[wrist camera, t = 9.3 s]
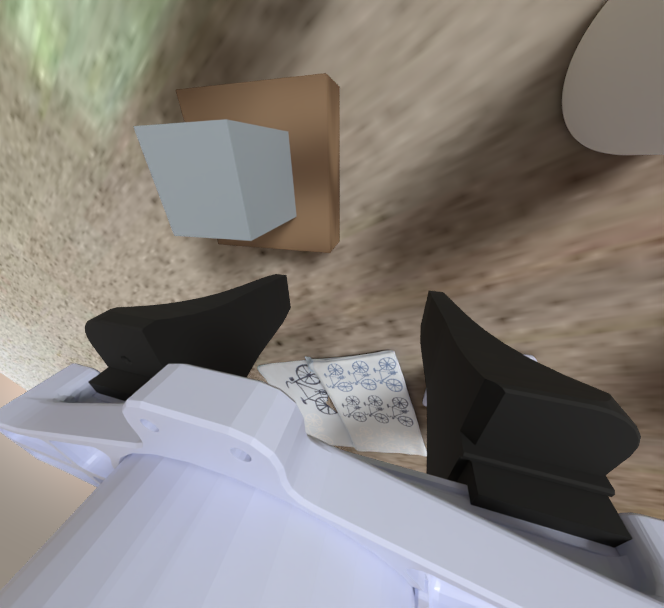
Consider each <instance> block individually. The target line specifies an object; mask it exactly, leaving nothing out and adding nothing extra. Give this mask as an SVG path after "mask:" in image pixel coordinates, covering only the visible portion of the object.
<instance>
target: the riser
mask: <svg viewBox="0 0 664 608" xmlns="http://www.w3.org/2000/svg"><path fill="white" fill-rule="evenodd" d="M176 93H177V97H178V100H179V104H180V107H181V111H182V115H183V118H184V122H198V121H211V120H224V119H227V120H232V121H237V122H242V123H247V124H252V125H257V126H262V127H267V128H272V129H277V130H282V131H287V132H288V134H289V144H290V154H291V165H292V175H293V185H294V195H295V206H296V216H297V217H295V218H293V219H291V220H289V221H287V222H285V223H284V224H282V225H280V226H278V227H276V228H274V229H272V230H271V231H269V232H267V233H265V234H263V235H261V236H259V237H258V238H256V239H254V240H252V241H247V240H232V239H217V240H218V244H224V245H236V246H249V247H261V248H274V249H286V250H299V251H312V252H324V253H330V252H331V251H332V250H333V249H334V247H335V246H336V245H337V244H338V243H339V241H340V184H339V86H338V85H337V84H336V83H335V82H334V81H333V80H332V79H331V78H330V77H329V76H328V75H327V74H326V73H324V74H314V75H305V76H296V77H287V78H278V79H269V80H259V81H250V82H241V83H232V84H223V85H214V86H205V87H195V88H186V89H177V90H176Z"/></svg>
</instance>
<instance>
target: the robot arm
mask: <svg viewBox="0 0 664 608" xmlns="http://www.w3.org/2000/svg"><path fill="white" fill-rule="evenodd" d="M290 308H291V306H290V299H289V291H288V284H287V276H286V275H279V274H275V275H270V276H267V277H264V278H261V279H259V280H256V281H253V282H250V283H248V284H245V285H242V286H239V287H236V288H234V289H231V290H228V291H225V292H221V293H218V294H214V295H210V296H206V297H202V298H197V299H192V300H187V301H182V302H175V303H168V304H160V305H150V306H135V307H117V308H113V309H110V310H108V311H106V312H104V313H102V314H100V315H98V316H96V317H94V318H93V319H91V320H89V321H87V323H86V325H85V333H86V335H87V338H88V339H89V341H90V343H91V344H92V346H93V347H94V348H95V350H96V351H97V352H98V354H99V355H100V356H101V358H102V359H103V360H104V362H105V363H106V364H107V366H108V368H107V369H106V370H104V371H103V372H101V373H100V372H99V371H98V370H96V369H94V368H91V367H87V366H83V365H80V364H71V365H69V366H67V367H66V368H64V369H63V370H61V371H59V372H58V373H56V374H55V375H53V376H51V377H50V378H48V379H46V380H45V381H43V382H42V383H40V384H38V385H37V386H35V387H33V388H32V389H30V390H29V391H27V392H25V393H24V394H22V395H20V396H19V397H17V398H16V399H14V400H13V401H11V402H9V403H8V404H6V405H4V406H3V407H1V408H0V432H1V433H2V434H3V435H5V436H6V437H8V438H9V439H10V440H12V441H13V442H14V443H16V444H17V445H19V446H20V447H21V448H23V449H24V450H25V451H27V452H28V453H29V454H31V455H32V456H34V457H35V458H37V459H38V460H40V461H43V462H45V463H47V464H49V465H52V466H54V467H56V468H58V469H61V470H63V471H65V472H67V473H69V474H71V475H73V476H75V477H77V478H79V479H81V480H83V481H85V482H87V483H89V484H91V485H93V486H96V487H97V488H96V489H95V490H94V492H93V493H92V494H91V495H90V496H89V497H88V498H87V499H86V500H85V501H84V502H83V503H82V504H81V505H80V506H79V507H78V509H77V510H76V511H75V512H74V513H73V514H72V515H71V516H70V517H69V518H68V519H67V520H66V521H65V522H64V523H63V524H62V526H61V527H60V528H59V529H58V530H57V531H56V532H55V533H54V534H53V535H52V536H51V537H50V538H49V539H48V540H47V541H46V543H45V544H44V545H43V546H42V547H41V548H40V549H39V550H38V551H37V552H36V553H35V554H34V555H33V556H32V557H31V559H30V560H29V561H28V562H27V563H26V564H25V565H24V566H23V567H22V568H21V569H20V570H19V571H18V572H17V573H16V574H15V576H14V577H13V578H12V579H11V580H10V581H9V582H8V583H7V584H6V585H5V586H4V587H3V588H2V589H1V591H0V608H664V520H661V519H657V518H654V517H650V516H646V515H642V514H637V513H619V514H618V513H617V511H616V509H615V508H614V506H613V504H612V502H611V501H610V499H609V497H608V496H610V497H612V496H614V495H615V490H614V488H613V487H612V485H611V484H610V482H609V480H608V479H607V477H606V474H608V473H609V472H610V471H612V470H613V469H614V468H616V467H617V466H618V465H620V464H621V463H622V462H623V461H625V460H626V459H627V458H629V457H630V456H631V455H632V454H633V452H634V451H635V450H636V449H637V448H638V446H639V443H640V438H641V435H640V433H639V430H638V428H637V426H636V425H635V424H634V422H633V421H632V420H631V419H630V418H629V416H628V415H627V414H626V413H625V412H624V410H623V409H622V408H621V407H620V406H619V404H618V403H617V402H616V401H615V400H614V399H613V397H612V396H611V395H610V394H609V393H606V392H604V391H602V390H599V389H597V388H594V387H592V386H589V385H587V384H585V383H582V382H580V381H577V380H575V379H573V378H570V377H568V376H565V375H563V374H561V373H559V372H557V371H555V370H553V369H550V368H548V367H546V366H544V365H542V364H540V363H538V362H537V360H536V359H535V357H533V356H530V355H524V354H521V353H520V352H518V351H516V350H514V349H513V348H511V347H509V346H508V345H506V344H504V343H503V342H501V341H500V340H498V339H497V338H495V337H494V336H493V335H491V334H490V333H488V332H487V331H485V330H484V329H483V328H482V327H480V326H479V325H478V324H477V323H475V322H474V321H473V320H472V319H471V318H470V317H468V316H467V315H466V314H465V313H464V312H463V311H462V310H461V309H460V308H459V307H458V306H457V305H456V304H455V303H454V302H453V301H452V300H451V299H450V298H449V297H448V296H447V295H446V294H445V293H443V292H436V291H429V292H428V296H427V301H426V305H425V309H424V314H423V318H422V322H421V335H420V344H421V352H422V359H423V366H424V374H425V381H426V390H425V394H424V397H423V400H422V401H423V405H424V406H426V407H427V474H426V473H422V472H418V471H415V470H411V469H408V468H404V467H401V466H397V465H394V464H390V463H387V462H383V461H380V460H376V459H372V458H369V457H365V456H362V455H358V454H355V453H351V452H348V451H344V450H341V449H339V448H336V447H334V446H332V445H330V444H328V443H326V442H324V441H322V440H320V439H318V438H316V437H313V436H311V435H309V434H307V433H306V431H305V423H304V417H303V415H302V413H301V411H300V409H299V407H298V406H297V404H296V402H295V400H294V399H292V398H291V397H290V396H289V395H288V394H286V393H285V392H284V391H283V390H282V389H280V388H278V387H275V386H273V385H270V384H268V383H265V382H263V381H259V380H255V379H250V378H247V376H248V374H249V372H250V370H251V369H252V367H253V365H254V363H255V362H256V360H257V358H258V357H259V355H260V354H261V352H262V351H263V349H264V348H265V346H266V345H267V344H268V342H269V341H270V340H271V338H272V337H273V336H274V334H275V333H276V332H277V330H278V329H279V327H280V326H281V325H282V323H283V322H284V320H285V318H286V316H287V314H288V312H289V310H290Z"/></svg>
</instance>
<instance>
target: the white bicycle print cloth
mask: <svg viewBox="0 0 664 608" xmlns="http://www.w3.org/2000/svg"><path fill="white" fill-rule="evenodd" d="M305 359H306V360H300V361H291V362H280V363H270V364H264V365H260V366H258V367H257V368H258V371H259V372H260V373H261V374H262V375H263V377H264V378H265V379H266V381H267V382H268V384H270V385H273V386H275V387H278V388H280V389H282V390H283V391H284V392H285V393H286V394H288V395H289V396H290V397H291V398H292V399H294V400H295V402H296V404H297V406H298V407H299V409H300V411H301V413H302V415H303V417H304V423H305V431H306V433H307V434H309V435H311V436H313V437H316V438H318V439H320V440H322V441H324V442H326V443H328V444H330V445H335V446H346V447H354V448H355V449H356V450H357V451H363V452H365V451H373V452H384V453H404V454H411V455H412V454H417V455H422V456H425V457H426V456H427V451H426V448H425V445H424V442H423V439H422V436H421V432H420V429H419V425H418V421H417V418H416V415H415V412H414V409H413V406H412V403H411V400H410V397H409V394H408V391H407V387H406V384H405V380H404V377H403V374H402V372H401V368H400V365H399V363H398V360H397V358H396V355H395V351H393V350H386V351H381V352H376V353H370V354H363V355H355V356H345V357H335V358H323V359H311V357H306V356H305ZM328 395H329V397H330V399H331V400H332V402H333V404H334V406H335V408H336V410H337V412H338V413H337V412H336V411H334V410H333V409H331V408H330V407H329V406H328V405H327V404H326V401H328V400H327V399H328Z"/></svg>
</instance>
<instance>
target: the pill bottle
mask: <svg viewBox="0 0 664 608" xmlns="http://www.w3.org/2000/svg"><path fill="white" fill-rule="evenodd" d="M562 110H563V116H564V120H565V123H566V126H567V128H568V130H569V131H570V133H571V134H572V136H573V137H574V138H575V139H576V140H577V141H578V142H579V143H581V144H582V145H584V146H585V147H587V148H589V149H592V150H595V151H598V152H602V153H608V154H614V155H664V0H608V1H607V3H606V4H605V5H604V6H603V8H602V9H601V10H600V12H599V13H598V14H597V16H596V17H595V18H594V20H593V21H592V23H591V24H590V26H589V27H588V29H587V31H586V32H585V34H584V36H583V37H582V39H581V41H580V43H579V45H578V47H577V49H576V51H575V53H574V55H573V57H572V60H571V62H570V65H569V68H568V71H567V74H566V78H565V82H564V87H563V94H562Z"/></svg>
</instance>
